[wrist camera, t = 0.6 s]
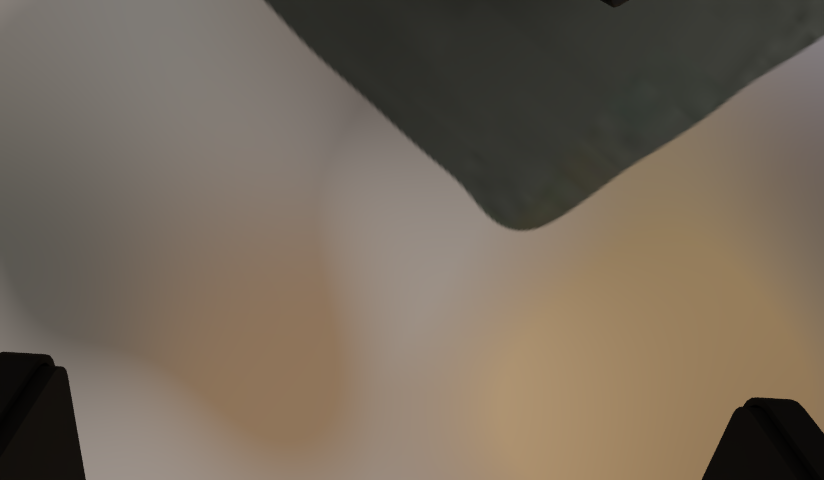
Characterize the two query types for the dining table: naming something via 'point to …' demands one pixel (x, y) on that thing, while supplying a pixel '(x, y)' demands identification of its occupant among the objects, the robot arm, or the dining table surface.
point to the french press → (614, 2)
